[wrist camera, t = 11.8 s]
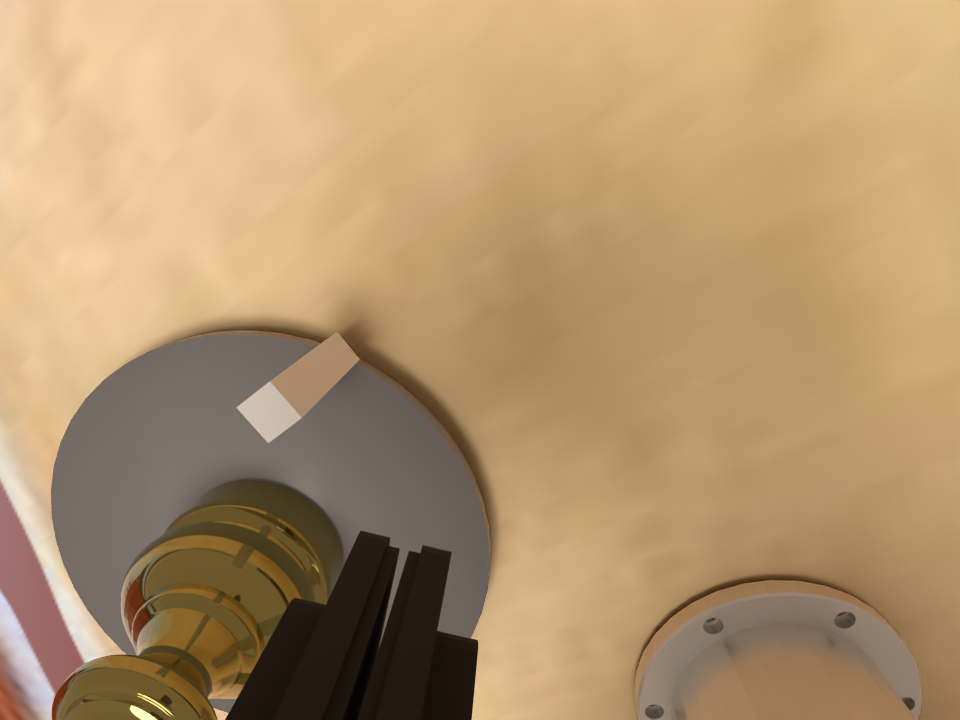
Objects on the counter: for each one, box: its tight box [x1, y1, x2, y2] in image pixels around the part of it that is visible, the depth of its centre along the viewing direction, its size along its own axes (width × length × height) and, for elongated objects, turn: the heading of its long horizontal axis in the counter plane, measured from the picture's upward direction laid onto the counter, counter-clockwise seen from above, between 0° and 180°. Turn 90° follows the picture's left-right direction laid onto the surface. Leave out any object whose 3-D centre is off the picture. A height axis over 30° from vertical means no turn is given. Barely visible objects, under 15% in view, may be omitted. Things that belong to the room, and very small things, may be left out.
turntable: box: [51, 330, 491, 713], centre depth 23 cm, size 20×20×7 cm
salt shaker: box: [52, 481, 343, 720], centre depth 21 cm, size 7×7×10 cm
